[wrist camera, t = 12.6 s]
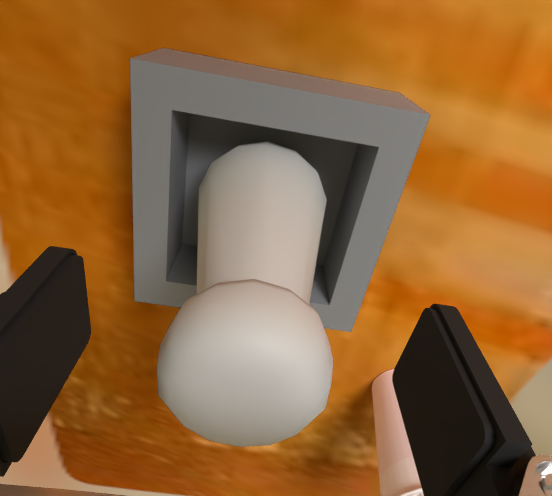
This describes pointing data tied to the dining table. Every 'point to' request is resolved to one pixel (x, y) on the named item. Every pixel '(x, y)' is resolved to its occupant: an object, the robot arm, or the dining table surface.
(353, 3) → the dining table surface
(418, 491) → the smoothie
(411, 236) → the dining table surface
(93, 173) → the dining table surface
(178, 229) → the socket holder
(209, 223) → the salt shaker
